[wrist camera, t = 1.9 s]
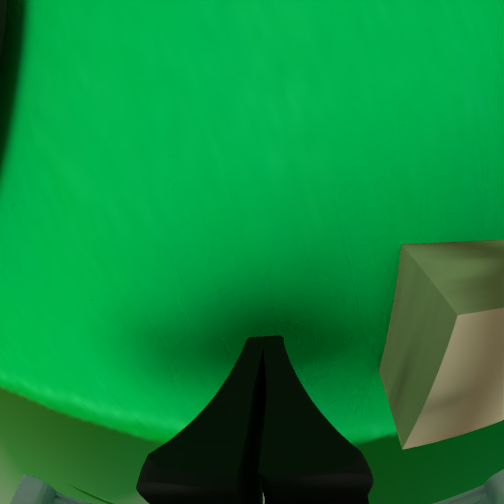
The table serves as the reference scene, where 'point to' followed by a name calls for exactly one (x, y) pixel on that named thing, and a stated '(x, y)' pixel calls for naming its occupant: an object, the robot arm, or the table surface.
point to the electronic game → (2, 22)
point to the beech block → (446, 341)
